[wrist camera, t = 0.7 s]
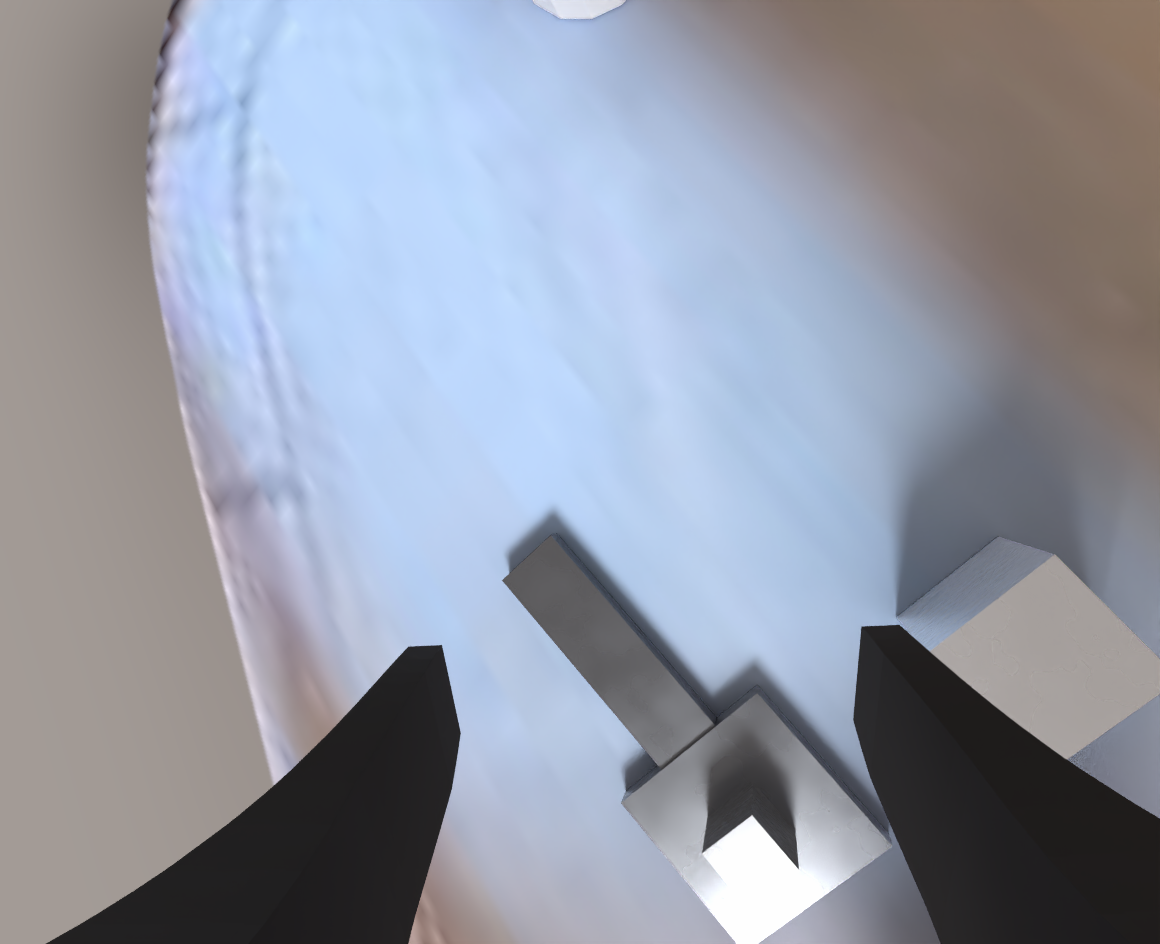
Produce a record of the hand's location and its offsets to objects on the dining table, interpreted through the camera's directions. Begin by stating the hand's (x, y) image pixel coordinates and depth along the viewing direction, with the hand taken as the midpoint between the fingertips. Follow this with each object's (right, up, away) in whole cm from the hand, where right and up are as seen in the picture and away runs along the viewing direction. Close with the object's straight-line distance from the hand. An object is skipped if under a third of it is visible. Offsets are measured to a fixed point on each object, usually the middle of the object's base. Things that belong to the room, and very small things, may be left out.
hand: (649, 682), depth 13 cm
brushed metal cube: (+16, -3, +17) cm, 23 cm away
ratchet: (+3, -7, +20) cm, 22 cm away
